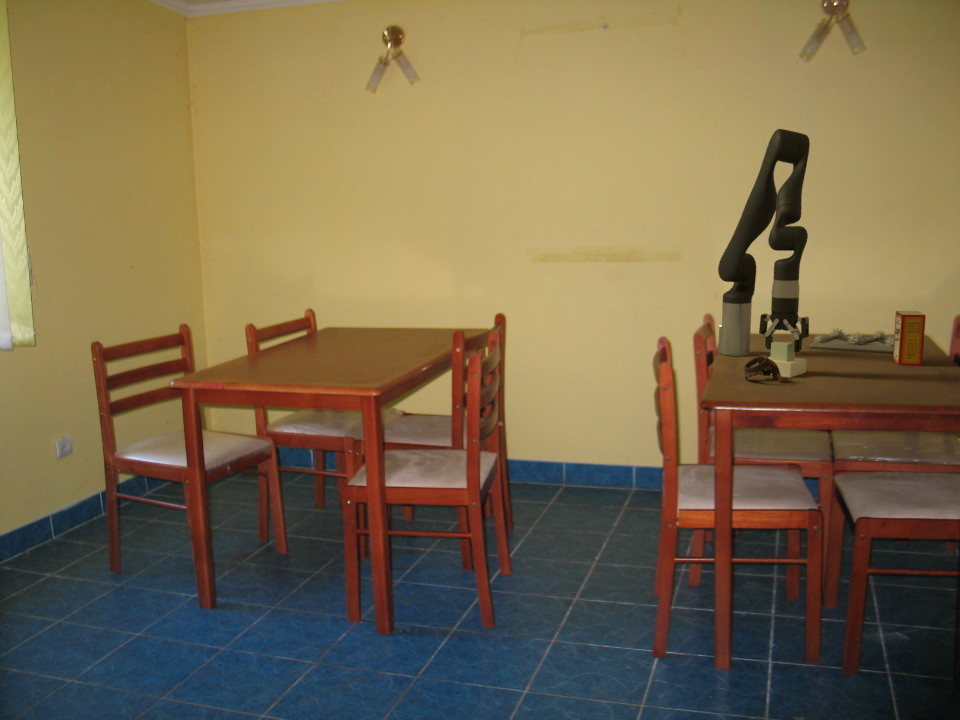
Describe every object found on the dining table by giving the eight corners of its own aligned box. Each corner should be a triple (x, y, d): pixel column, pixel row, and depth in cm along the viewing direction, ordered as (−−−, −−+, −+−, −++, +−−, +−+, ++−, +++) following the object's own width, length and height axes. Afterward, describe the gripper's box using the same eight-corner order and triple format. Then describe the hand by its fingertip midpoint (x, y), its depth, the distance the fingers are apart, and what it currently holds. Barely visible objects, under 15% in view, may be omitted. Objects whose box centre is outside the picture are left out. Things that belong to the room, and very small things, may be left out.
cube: (778, 357, 266) (779, 340, 266) (794, 359, 263) (795, 342, 262) (770, 359, 263) (771, 342, 262) (786, 361, 259) (787, 344, 259)
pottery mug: (783, 387, 246) (769, 362, 244) (751, 399, 251) (737, 374, 249) (786, 368, 256) (772, 344, 255) (755, 380, 261) (742, 357, 259)
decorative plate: (909, 346, 311) (910, 326, 310) (903, 356, 292) (905, 334, 291) (817, 341, 325) (818, 321, 324) (807, 350, 307) (808, 329, 306)
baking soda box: (892, 360, 282) (895, 309, 279) (915, 360, 280) (918, 310, 278) (898, 365, 273) (902, 313, 270) (921, 366, 271) (925, 313, 269)
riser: (757, 373, 264) (758, 359, 263) (774, 368, 271) (774, 355, 270) (790, 377, 257) (790, 363, 256) (805, 372, 264) (806, 359, 263)
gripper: (814, 296, 257) (812, 351, 260) (768, 293, 267) (766, 346, 270) (803, 298, 252) (800, 354, 255) (756, 295, 262) (754, 349, 265)
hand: (782, 350), depth 262 cm, fingers open, 8 cm apart
